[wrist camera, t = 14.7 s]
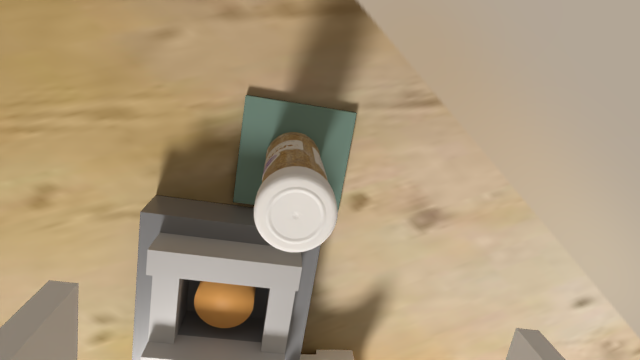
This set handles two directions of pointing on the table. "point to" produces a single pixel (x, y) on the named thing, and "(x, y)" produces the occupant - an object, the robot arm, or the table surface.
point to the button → (224, 303)
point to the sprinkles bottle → (294, 196)
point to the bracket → (329, 355)
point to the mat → (284, 117)
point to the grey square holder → (221, 267)
